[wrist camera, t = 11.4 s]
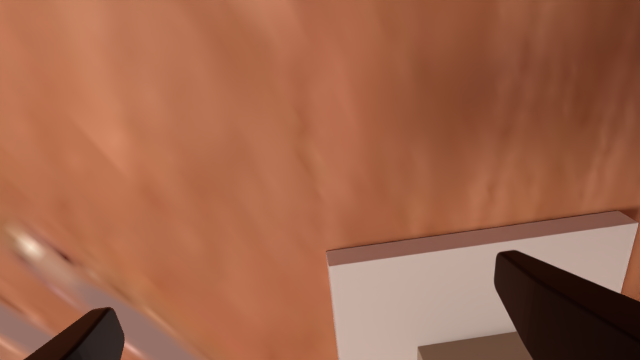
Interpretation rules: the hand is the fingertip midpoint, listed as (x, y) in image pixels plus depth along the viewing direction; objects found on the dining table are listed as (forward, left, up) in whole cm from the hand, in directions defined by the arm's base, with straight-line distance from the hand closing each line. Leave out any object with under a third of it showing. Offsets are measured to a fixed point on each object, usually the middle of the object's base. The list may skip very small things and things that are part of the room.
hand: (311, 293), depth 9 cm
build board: (-10, +16, -12) cm, 22 cm away
